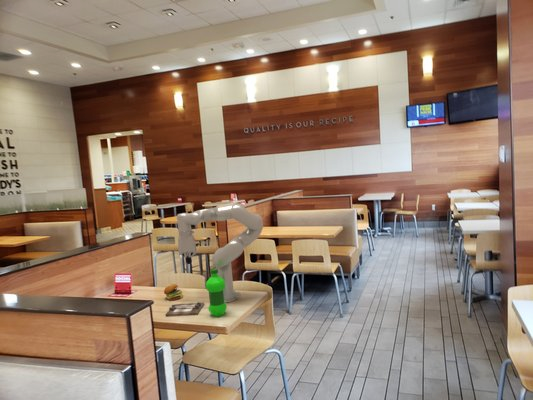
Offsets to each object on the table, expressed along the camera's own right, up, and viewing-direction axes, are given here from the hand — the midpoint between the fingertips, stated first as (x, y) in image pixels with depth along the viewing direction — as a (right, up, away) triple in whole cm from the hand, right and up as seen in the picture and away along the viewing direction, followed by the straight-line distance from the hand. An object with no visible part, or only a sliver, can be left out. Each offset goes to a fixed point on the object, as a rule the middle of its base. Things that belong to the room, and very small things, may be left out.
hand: (189, 263), depth 234 cm
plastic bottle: (+20, -24, -23) cm, 39 cm away
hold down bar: (0, -23, -12) cm, 26 cm away
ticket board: (0, -25, -12) cm, 28 cm away
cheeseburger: (-12, -24, +12) cm, 30 cm away
